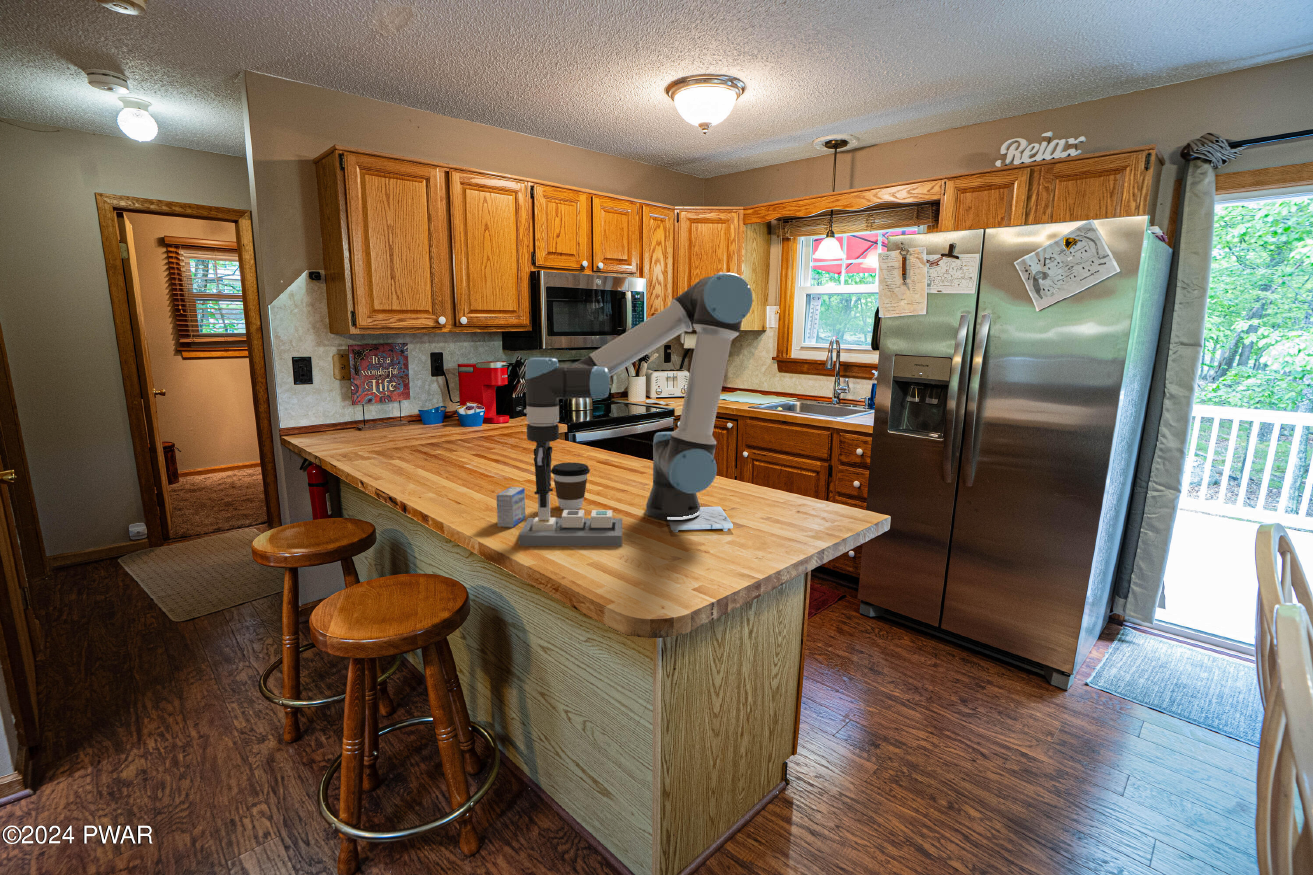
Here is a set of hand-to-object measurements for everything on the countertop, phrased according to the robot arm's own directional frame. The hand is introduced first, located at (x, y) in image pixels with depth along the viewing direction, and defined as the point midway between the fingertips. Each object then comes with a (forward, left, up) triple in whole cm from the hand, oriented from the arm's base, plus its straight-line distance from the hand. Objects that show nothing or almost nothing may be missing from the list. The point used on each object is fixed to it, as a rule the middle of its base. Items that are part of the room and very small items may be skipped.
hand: (544, 518), depth 145 cm
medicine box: (+10, -11, -5) cm, 15 cm away
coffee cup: (-4, -25, -5) cm, 25 cm away
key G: (0, 0, -3) cm, 3 cm away
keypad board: (-7, 0, -5) cm, 8 cm away
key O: (-14, 0, -1) cm, 14 cm away
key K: (-7, 0, -1) cm, 7 cm away
